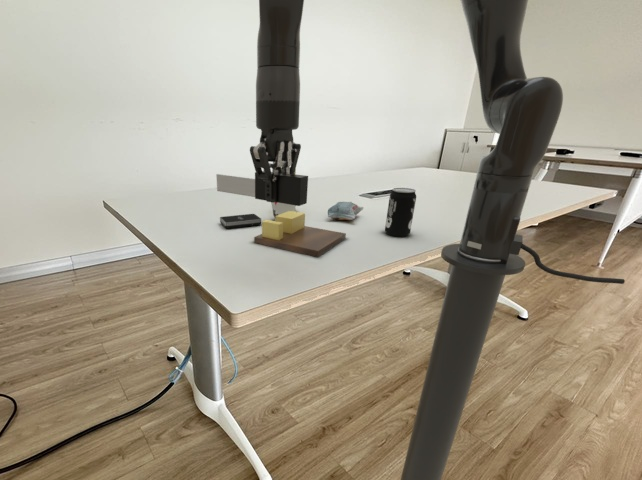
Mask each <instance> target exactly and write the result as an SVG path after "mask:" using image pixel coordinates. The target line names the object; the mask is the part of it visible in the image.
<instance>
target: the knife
mask: <svg viewBox="0 0 642 480" xmlns="http://www.w3.org/2000/svg"><path fill="white" fill-rule="evenodd" d="M262 172H263V170H262ZM271 173H272V171H271ZM215 177H216V191H217V192H221V193H226V194H232V195H237V196H238V195H239V196H245V197H252V198H254V199H255V200H260V201H265V202H267V201H266V199H265V181H264V180H263V179H260V178H258V177H257V174H256V171H255V172H254V178H250V177H245V176H244V177H243V176H236V175H227V174H222V173H221V174H220V173H216V175H215ZM276 182H277V201H276V202H278V203H284V204H290V205H296V206H297V207H301V206H304V205H306V204H307V203H308V187H309V186H308V185H309V175H305V174H296V173H295V174H286V173H278V178H277V181H276ZM296 206H295V207H296Z"/></svg>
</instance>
